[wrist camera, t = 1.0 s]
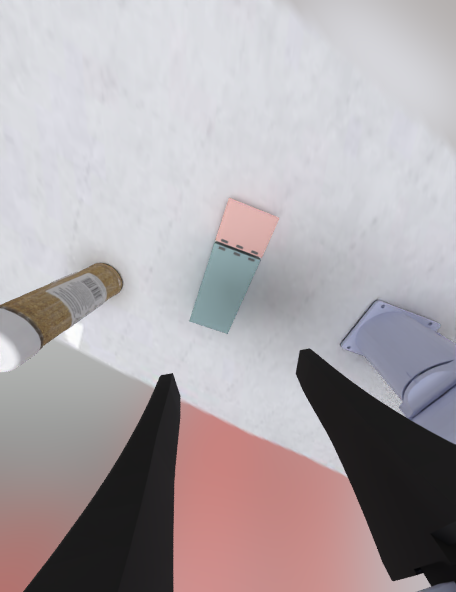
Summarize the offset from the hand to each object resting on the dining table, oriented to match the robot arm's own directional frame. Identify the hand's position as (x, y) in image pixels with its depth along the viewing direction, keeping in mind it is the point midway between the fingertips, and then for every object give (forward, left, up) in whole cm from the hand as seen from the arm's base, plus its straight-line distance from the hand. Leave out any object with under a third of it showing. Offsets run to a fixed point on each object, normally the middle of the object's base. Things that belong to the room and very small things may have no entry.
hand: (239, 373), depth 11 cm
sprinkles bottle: (+16, +6, -15) cm, 23 cm away
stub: (+2, -6, -15) cm, 16 cm away
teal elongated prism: (+2, +1, -15) cm, 15 cm away
